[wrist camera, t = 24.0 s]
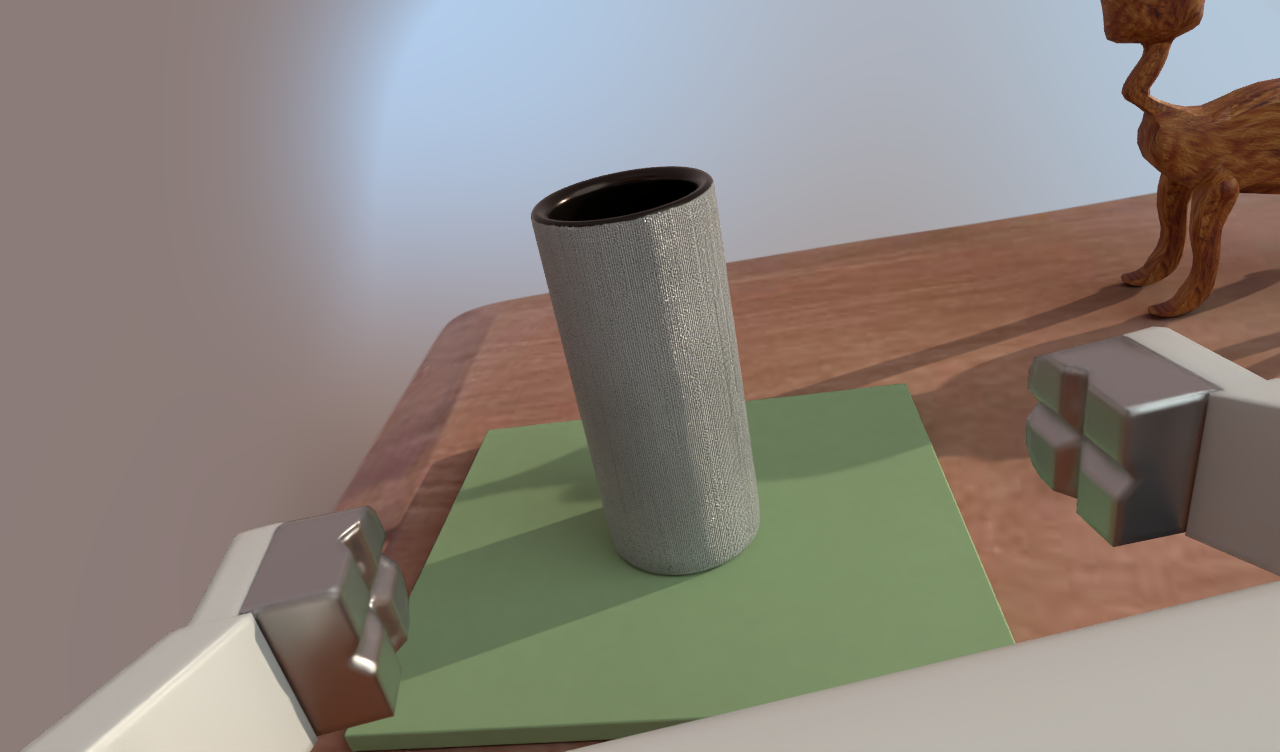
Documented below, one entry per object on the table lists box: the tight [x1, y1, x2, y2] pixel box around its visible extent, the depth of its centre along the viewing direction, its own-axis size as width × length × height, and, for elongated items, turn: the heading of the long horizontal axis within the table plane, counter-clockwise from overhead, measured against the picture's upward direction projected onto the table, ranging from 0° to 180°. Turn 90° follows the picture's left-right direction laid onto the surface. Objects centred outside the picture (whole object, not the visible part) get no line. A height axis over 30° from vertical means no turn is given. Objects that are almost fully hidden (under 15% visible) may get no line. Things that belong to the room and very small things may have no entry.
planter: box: [531, 166, 760, 575], centre depth 22 cm, size 4×4×10 cm
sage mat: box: [344, 383, 1015, 752], centre depth 25 cm, size 16×14×1 cm
